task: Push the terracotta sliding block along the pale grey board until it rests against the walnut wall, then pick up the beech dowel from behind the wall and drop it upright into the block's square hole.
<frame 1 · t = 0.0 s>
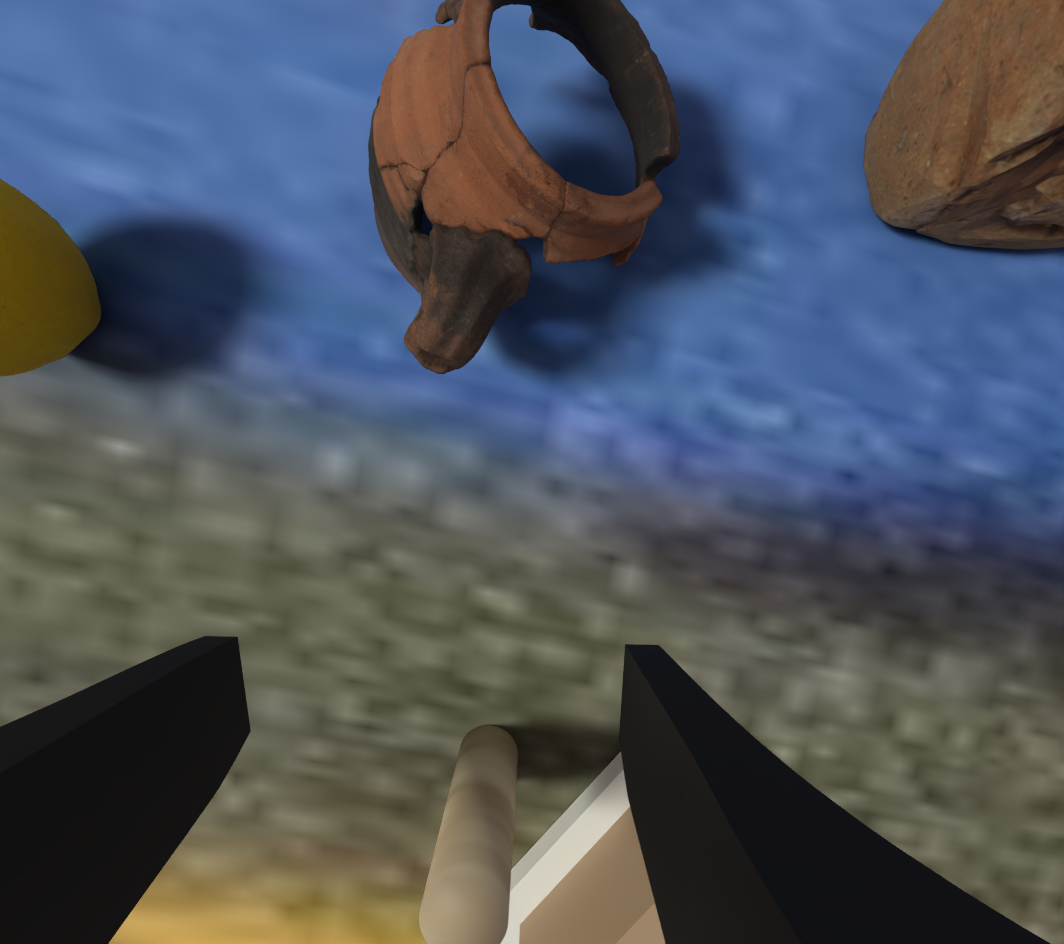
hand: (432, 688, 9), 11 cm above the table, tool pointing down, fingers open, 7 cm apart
brown piece: (502, 239, 19), on the table
apple: (78, 309, 19), on the table
dowel: (488, 753, 20), on the table
block: (981, 165, 19), on the table
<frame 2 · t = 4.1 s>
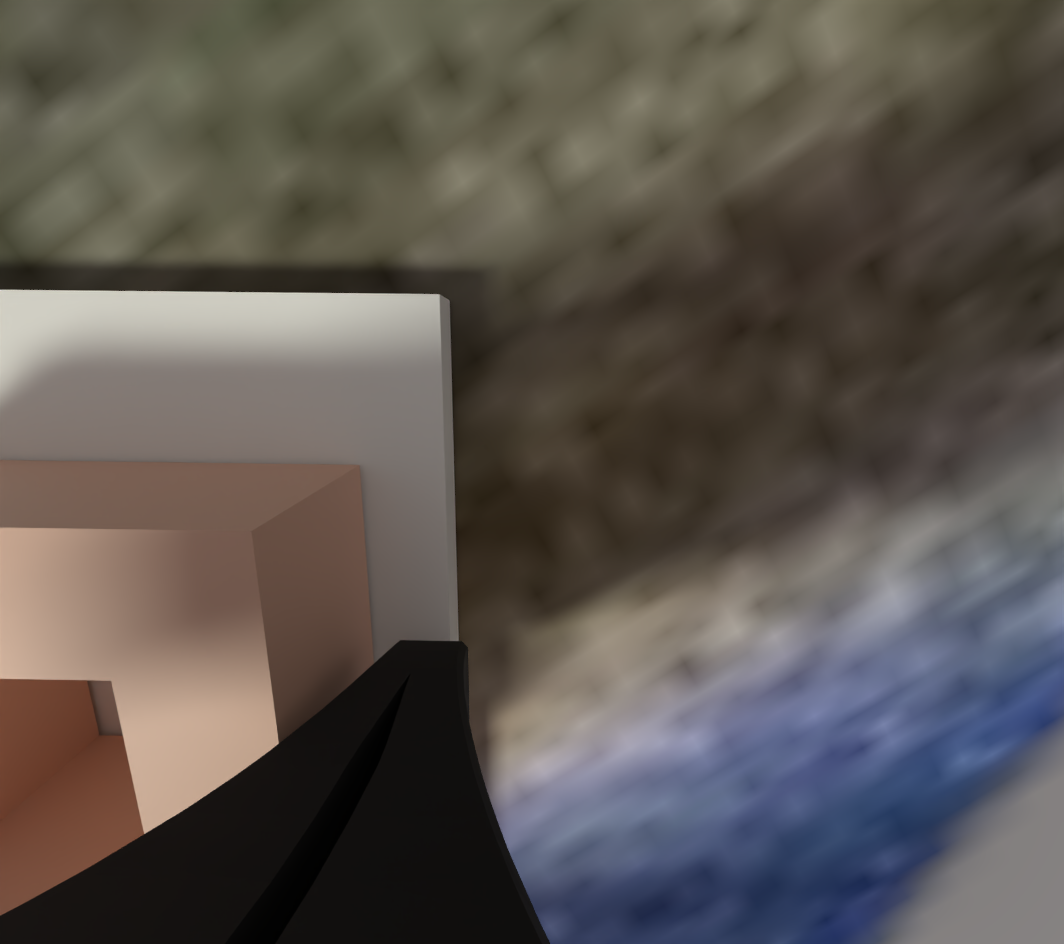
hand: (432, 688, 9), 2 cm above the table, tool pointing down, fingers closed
sliding block: (103, 715, 8), point 3 cm above the table, slide at -5.4 cm, touching gripper
base board: (61, 622, 11), on the table
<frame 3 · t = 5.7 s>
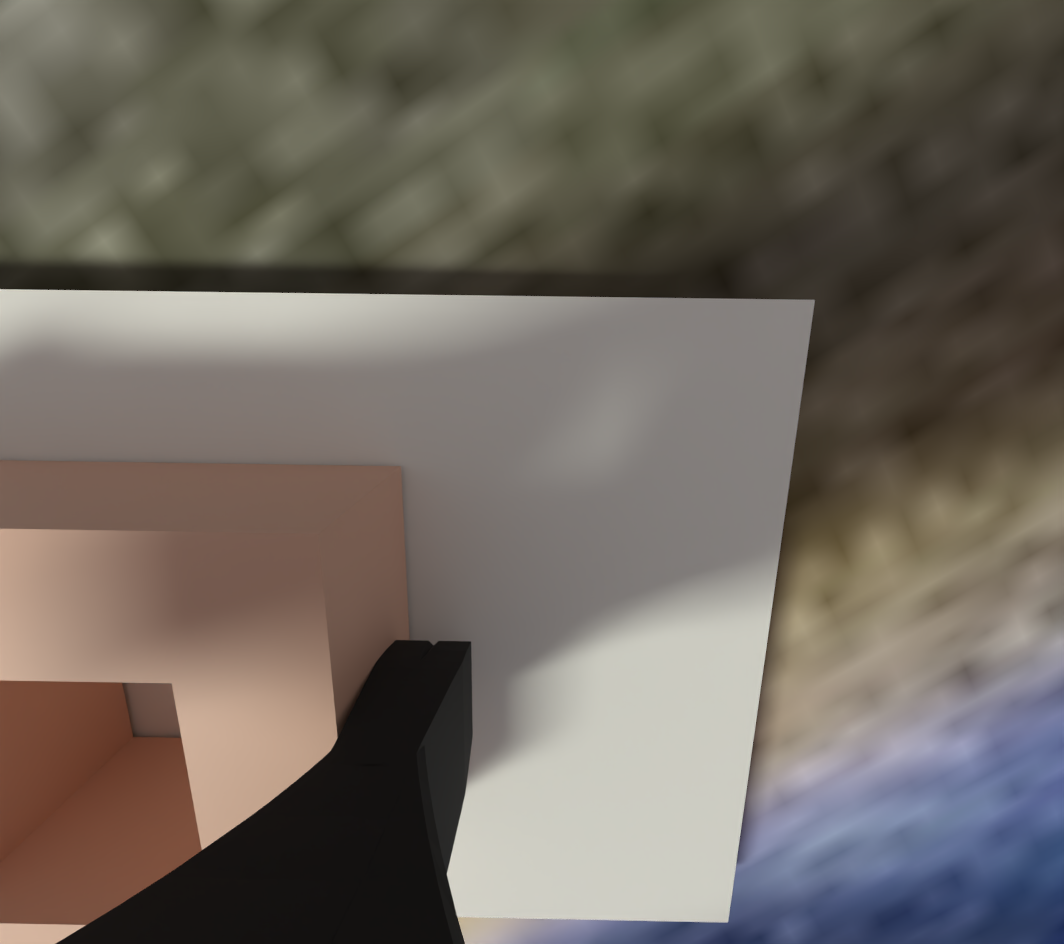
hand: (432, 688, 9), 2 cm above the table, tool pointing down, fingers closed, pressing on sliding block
sliding block: (147, 717, 8), point 3 cm above the table, slide at 0.2 cm, touching gripper
base board: (342, 627, 11), on the table
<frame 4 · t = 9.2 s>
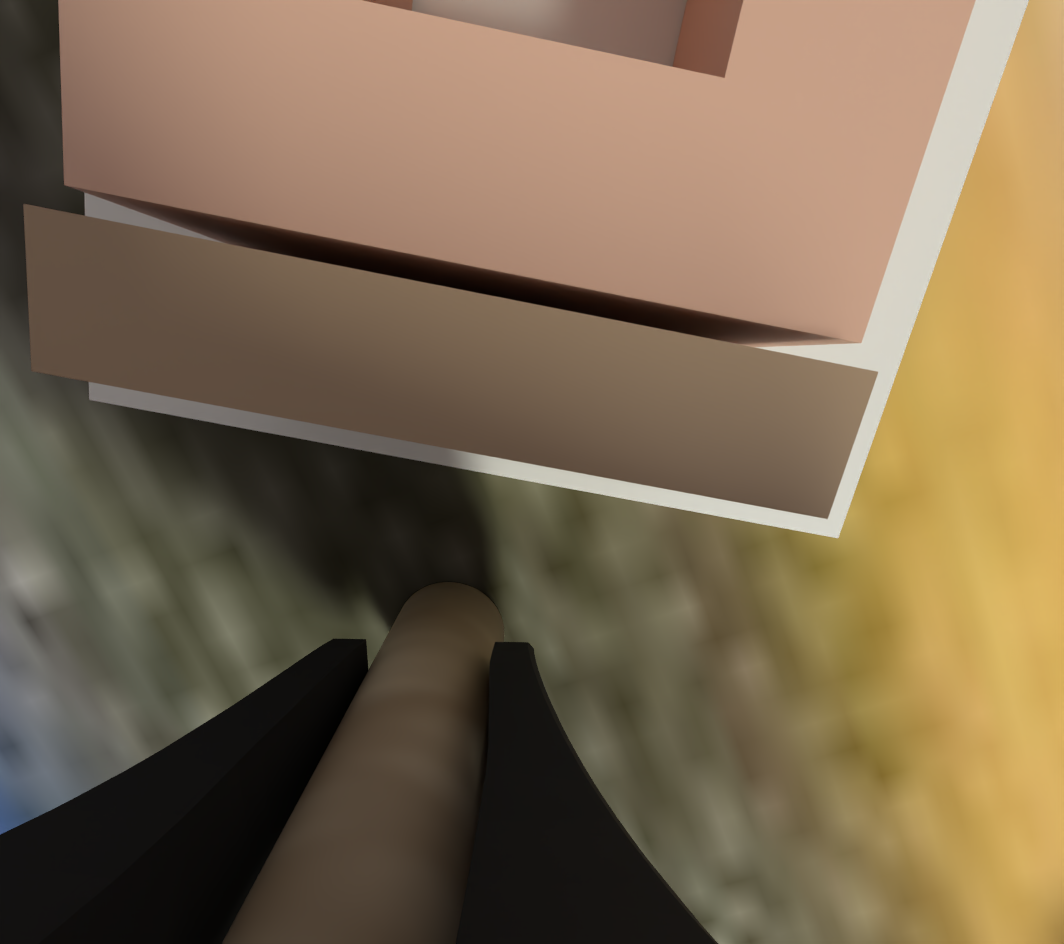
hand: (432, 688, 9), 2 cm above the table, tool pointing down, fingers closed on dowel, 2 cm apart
dowel: (450, 631, 11), on the table, touching gripper
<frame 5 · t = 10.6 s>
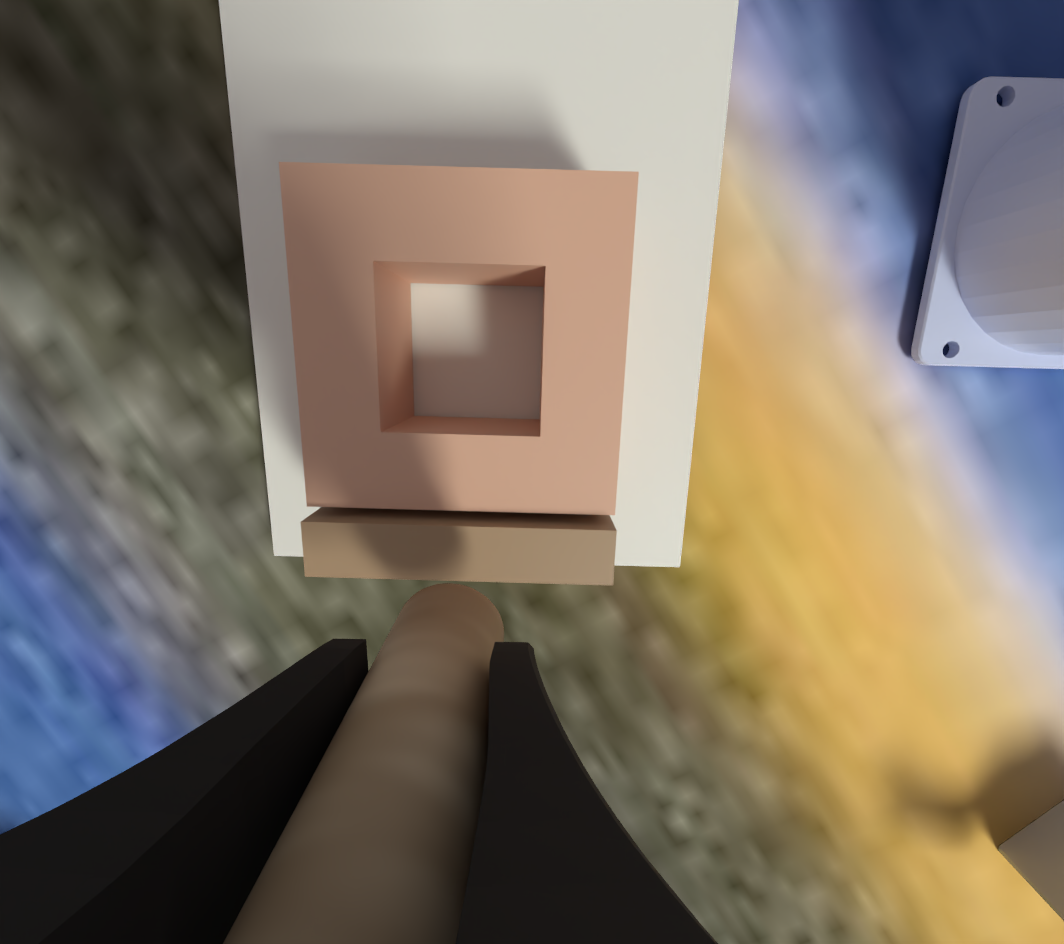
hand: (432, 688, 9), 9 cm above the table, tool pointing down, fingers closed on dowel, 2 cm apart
sliding block: (469, 352, 13), point 3 cm above the table, slide at 0.0 cm
base board: (480, 289, 16), on the table
lighter: (1014, 846, 21), on the table
dowel: (450, 632, 11), point 7 cm above the table, touching gripper
when the fingers open (5 cm above the table, at t = 11.9 s): dowel drops 2 cm, resting on base board.
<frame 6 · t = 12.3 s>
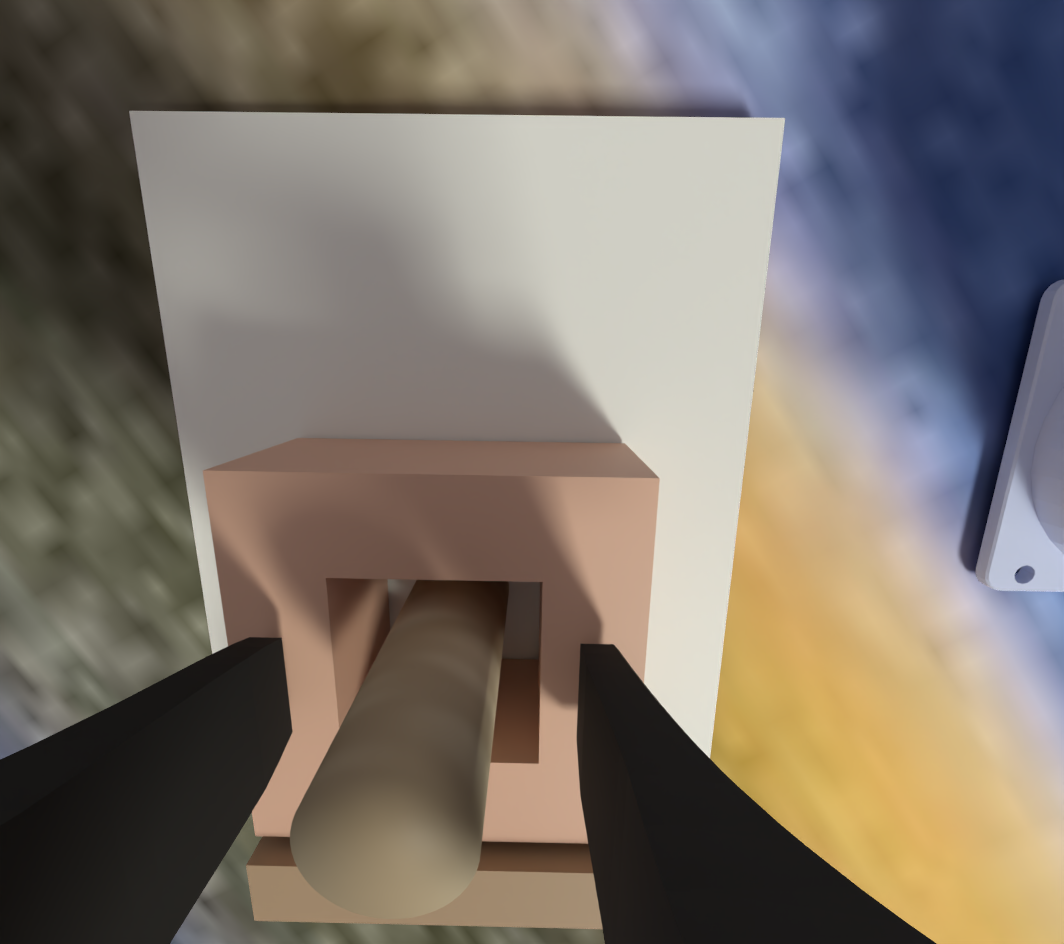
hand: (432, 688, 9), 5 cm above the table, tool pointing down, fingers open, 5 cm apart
sliding block: (452, 626, 11), point 3 cm above the table, slide at 0.0 cm
base board: (468, 504, 13), on the table
dowel: (463, 588, 13), point 1 cm above the table, touching base board
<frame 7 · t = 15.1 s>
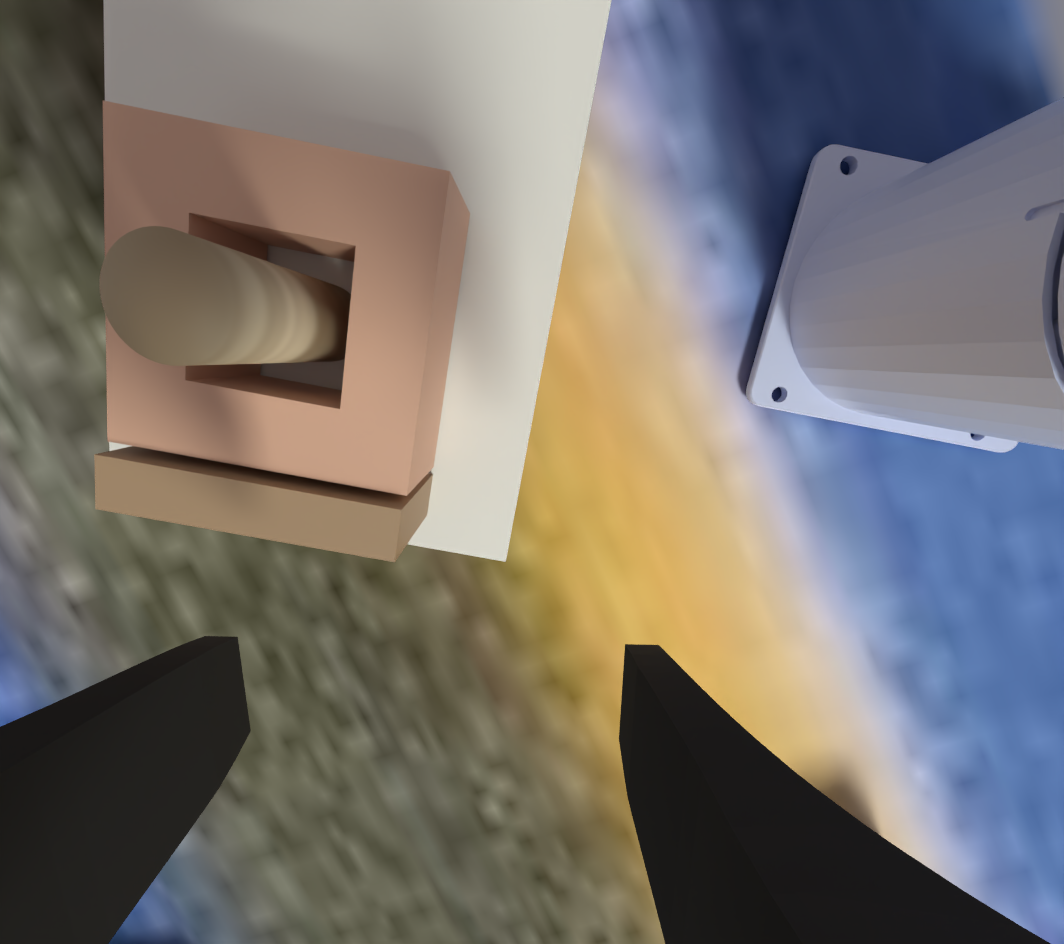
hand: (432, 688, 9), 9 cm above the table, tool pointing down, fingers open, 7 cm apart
sliding block: (300, 320, 14), point 3 cm above the table, slide at 0.0 cm
base board: (346, 263, 16), on the table
dowel: (327, 323, 16), point 1 cm above the table, touching base board
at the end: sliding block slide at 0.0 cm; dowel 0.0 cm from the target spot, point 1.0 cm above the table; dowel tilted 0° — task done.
